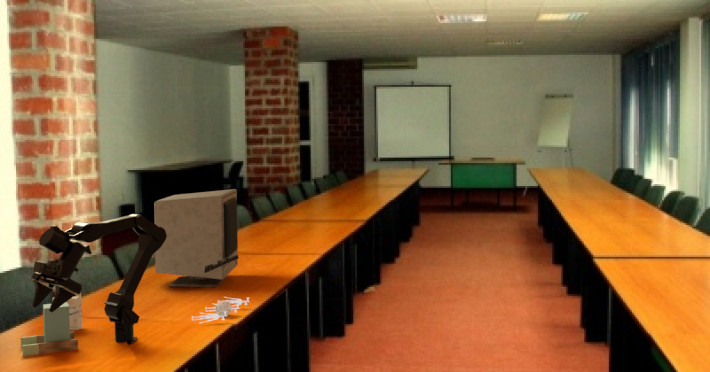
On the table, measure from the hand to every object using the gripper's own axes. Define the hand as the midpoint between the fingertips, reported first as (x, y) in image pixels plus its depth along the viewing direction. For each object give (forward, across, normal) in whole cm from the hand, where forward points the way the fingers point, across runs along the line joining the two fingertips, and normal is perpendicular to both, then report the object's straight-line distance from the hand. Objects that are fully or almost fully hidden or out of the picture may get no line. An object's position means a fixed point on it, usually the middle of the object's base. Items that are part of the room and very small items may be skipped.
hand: (42, 309), depth 222 cm
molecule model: (-26, -2, +66) cm, 71 cm away
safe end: (+12, -12, +10) cm, 19 cm away
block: (+7, -8, +16) cm, 19 cm away
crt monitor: (-44, -58, +93) cm, 118 cm away
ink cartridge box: (0, -26, +28) cm, 39 cm away
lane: (+8, -8, +16) cm, 20 cm away
